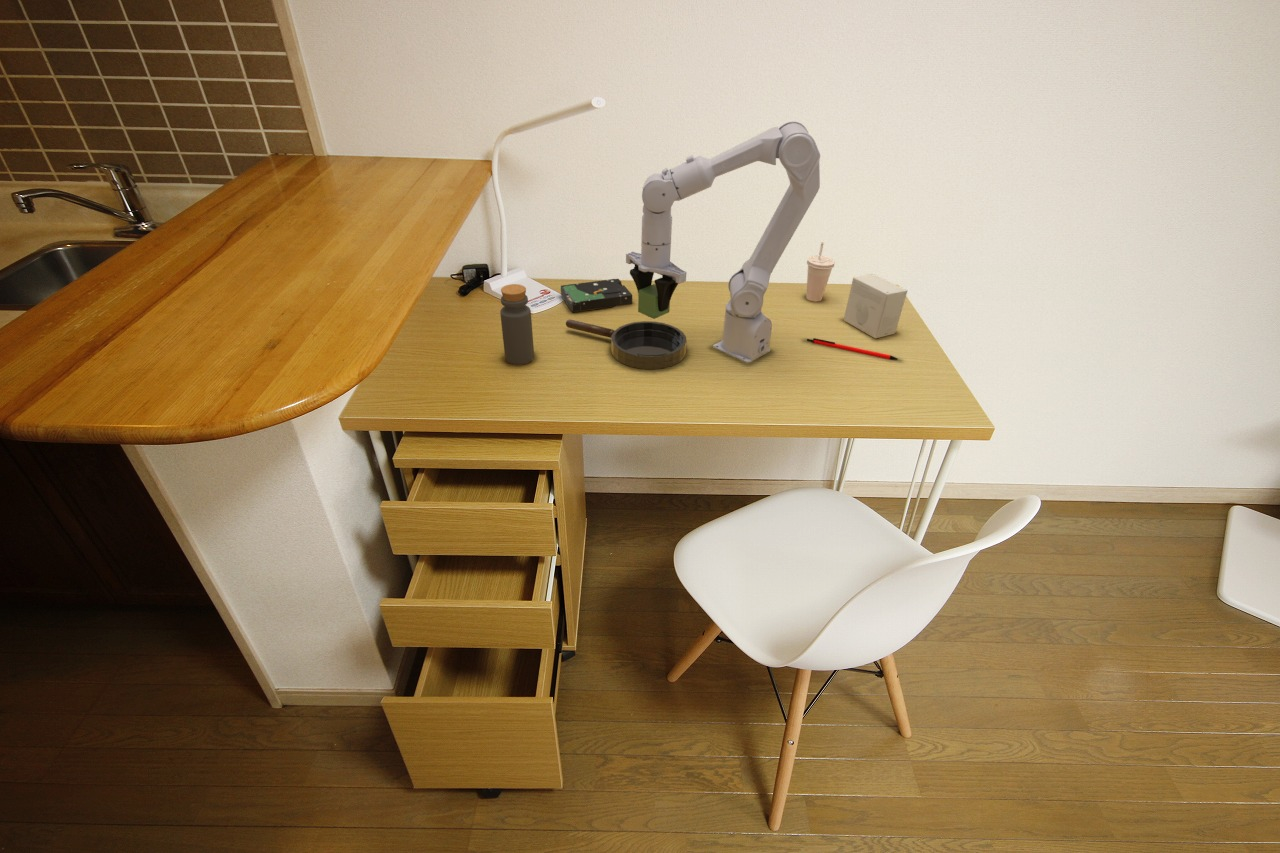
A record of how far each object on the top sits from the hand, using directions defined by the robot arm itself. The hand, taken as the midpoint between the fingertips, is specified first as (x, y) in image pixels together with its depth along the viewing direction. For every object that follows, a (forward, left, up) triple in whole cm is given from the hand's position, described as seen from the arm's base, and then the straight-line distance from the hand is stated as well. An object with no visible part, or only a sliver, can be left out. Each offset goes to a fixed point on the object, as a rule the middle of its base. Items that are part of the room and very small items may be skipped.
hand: (653, 305), depth 134 cm
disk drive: (+24, -6, -9) cm, 27 cm away
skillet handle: (+11, +8, -8) cm, 15 cm away
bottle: (+14, +24, -9) cm, 29 cm away
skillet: (-2, +3, -9) cm, 10 cm away
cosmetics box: (-28, -42, -9) cm, 51 cm away
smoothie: (-11, -46, -9) cm, 48 cm away
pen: (-31, -29, -9) cm, 43 cm away
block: (0, 0, -1) cm, 1 cm away
